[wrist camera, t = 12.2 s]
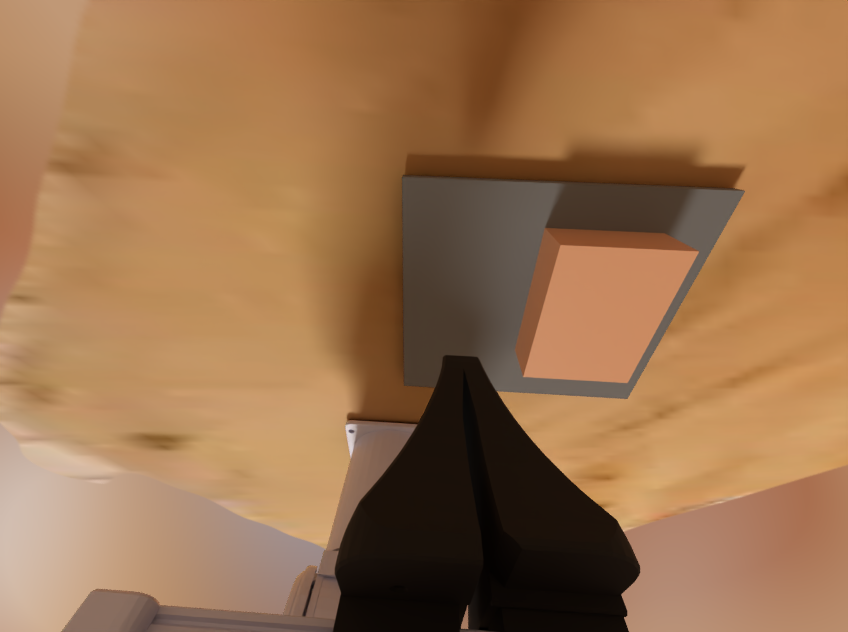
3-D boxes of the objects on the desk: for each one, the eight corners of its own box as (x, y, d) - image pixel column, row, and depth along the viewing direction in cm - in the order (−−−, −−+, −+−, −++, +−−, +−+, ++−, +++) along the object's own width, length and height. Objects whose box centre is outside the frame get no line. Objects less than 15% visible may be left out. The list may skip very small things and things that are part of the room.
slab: (514, 349, 20) (608, 354, 20) (523, 377, 18) (627, 383, 18) (544, 227, 16) (664, 233, 16) (560, 244, 14) (699, 251, 13)
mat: (623, 392, 22) (627, 398, 22) (404, 379, 23) (404, 385, 22) (735, 188, 15) (745, 191, 14) (403, 174, 15) (402, 176, 15)
